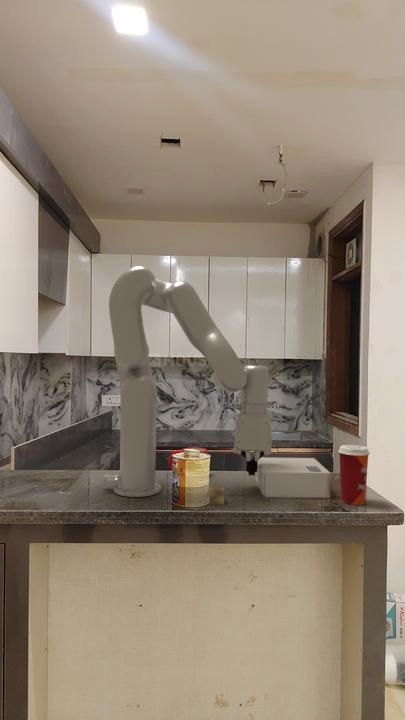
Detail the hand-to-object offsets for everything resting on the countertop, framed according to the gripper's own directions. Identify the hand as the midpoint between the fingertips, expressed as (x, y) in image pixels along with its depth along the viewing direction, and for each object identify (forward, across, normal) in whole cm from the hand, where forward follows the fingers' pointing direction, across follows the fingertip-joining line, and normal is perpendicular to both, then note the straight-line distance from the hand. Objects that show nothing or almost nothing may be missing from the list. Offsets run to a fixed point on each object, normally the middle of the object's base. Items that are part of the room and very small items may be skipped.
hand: (251, 474), depth 132 cm
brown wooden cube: (+4, -10, -14) cm, 18 cm away
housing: (+3, +11, 0) cm, 12 cm away
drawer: (+3, +10, 0) cm, 11 cm away
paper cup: (+3, +25, -12) cm, 28 cm away
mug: (+4, -18, +13) cm, 23 cm away
